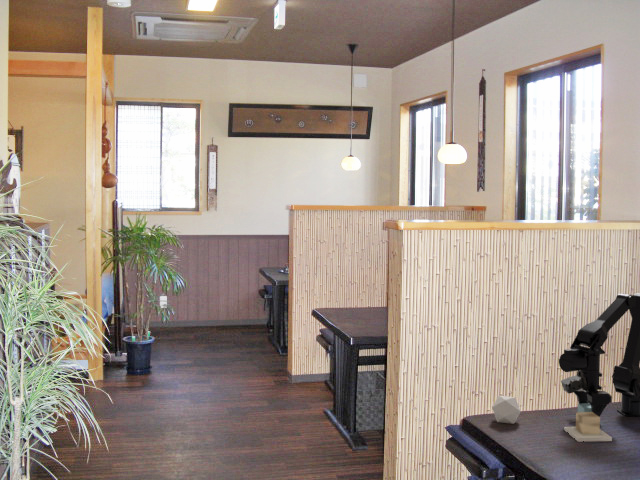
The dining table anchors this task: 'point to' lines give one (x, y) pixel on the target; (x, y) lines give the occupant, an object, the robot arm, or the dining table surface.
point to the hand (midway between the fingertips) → (588, 417)
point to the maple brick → (587, 423)
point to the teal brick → (584, 407)
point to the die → (506, 409)
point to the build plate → (587, 435)
